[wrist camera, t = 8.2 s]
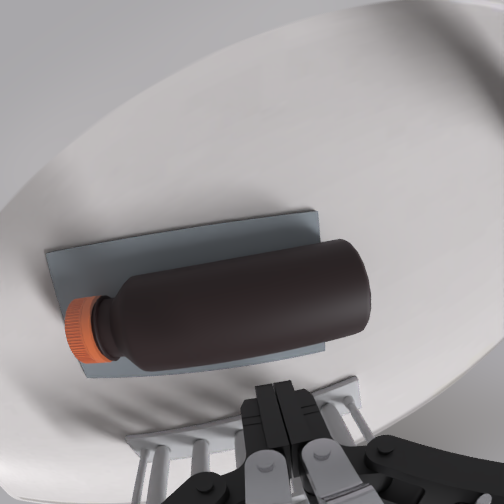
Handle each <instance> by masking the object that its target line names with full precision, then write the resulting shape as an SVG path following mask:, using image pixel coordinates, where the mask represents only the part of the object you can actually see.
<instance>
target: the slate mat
mask: <svg viewBox="0 0 504 504" xmlns="http://www.w3.org/2000/svg"><path fill="white" fill-rule="evenodd" d="M315 243H320V230H319V218H318V211H309V212H300V213H292V214H284V215H277V216H269V217H261V218H254V219H247V220H239V221H232V222H225V223H218V224H211V225H205V226H198V227H191V228H185V229H178V230H172V231H166V232H160V233H154V234H147V235H141V236H136V237H130V238H124V239H118V240H112V241H107V242H101V243H96V244H90V245H85V246H79V247H74V248H69V249H64V250H59V251H53V252H48V253H46V258H47V262H48V266H49V270H50V274H51V278H52V281H53V285H54V289H55V292H56V296H57V299H58V302H59V305H60V309H61V312H62V315H63V318H64V321H65V316H66V311H67V309H68V306H69V304H70V302H71V301H73V300H74V299H78V298H85V297H92V296H100V295H101V296H104V295H107V296H109V297H110V298H115V296H116V295H117V293H118V292H119V290H120V289H121V287H122V285H123V284H124V283H125V282H126V281H127V280H128V279H129V278H130V277H132V276H136V275H141V274H147V273H153V272H158V271H164V270H170V269H175V268H181V267H187V266H192V265H198V264H204V263H209V262H215V261H220V260H226V259H232V258H237V257H243V256H248V255H254V254H260V253H265V252H271V251H276V250H282V249H288V248H293V247H299V246H304V245H310V244H315ZM322 351H325V342H323V343H319V344H315V345H311V346H306V347H302V348H298V349H293V350H289V351H284V352H279V353H274V354H269V355H264V356H259V357H254V358H248V359H243V360H237V361H231V362H225V363H219V364H212V365H205V366H198V367H191V368H183V369H174V370H165V371H155V372H149V371H143V370H141V369H140V368H138V367H137V366H136V365H135V364H133V363H132V362H131V361H130V360H129V359H127V358H126V357H120V359H118V360H117V361H112V362H106V363H89V364H85V363H82V362H81V361H80V363H81V365H82V368H83V370H84V372H85V375H86V377H87V378H119V377H143V376H159V375H172V374H183V373H193V372H203V371H211V370H219V369H227V368H234V367H241V366H248V365H254V364H260V363H266V362H272V361H278V360H283V359H288V358H294V357H299V356H304V355H308V354H313V353H318V352H322Z"/></svg>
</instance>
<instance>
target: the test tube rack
mask: <svg viewBox="0 0 504 504" xmlns="http://www.w3.org/2000/svg"><path fill="white" fill-rule="evenodd" d="M311 394H312V395H313V397H314V399H315V401H316V403H317V406H318V408H319V410H320V412H321V414H322V417H323V419H324V421H325V423H326V426H327V428H328V430H329V432H330V435H331V437H332V438H333V439H334V440H335V441H336V442H337V443H339V444H341V445H344V446H356V444H355V442H354V440H353V438H352V436H351V434H350V432H349V430H348V428H347V426H346V424H345V422H344V421H343V419H342V417H341V416H343V415H346V414H348V413H351V415H352V417H353V418H354V420H355V422H356V424H357V425H358V427H359V429H360V431H361V433H362V434H363V436H364V438H365V440H366V441H367V443H369V442H370V441H371V440H372V439H374V438H375V437H374V435H373V433H372V432H371V430H370V428H369V427H368V425H367V423H366V422H365V420H364V418H363V417H362V415H361V413H360V412H359V410H358V409H360V408H362V405H361V396H360V388H359V381H358V378H357V377H356V376H354V377H351V378H349V379H347V380H344V381H342V382H339V383H337V384H334V385H332V386H329V387H326V388H324V389H321V390H318V391H316V392H313V393H311ZM125 441H126V442H127V443H128V444H129V445H130V447H131V448H132V449H133V450H134V451H135V452H136V454H137V455H138V456H139V457H140V462H139V467H138V472H137V477H136V482H135V487H134V492H133V497H132V503H131V504H140V501H141V495H142V489H143V483H144V477H145V472H146V466H147V463H150V462H153V463H152V469H151V475H150V481H149V487H148V494H147V501H146V504H161V503H162V502H163V501H165V500H166V492H167V482H168V473H169V464H170V460H177V459H184V458H191V457H192V466H191V476H193V475H194V474H197V473H200V472H210V455H209V454H214V453H219V452H224V451H229V450H234V449H235V456H236V467H237V469H238V468H239V467H240V466H241V465H242V464H243V463H244V461H245V459H246V449H245V441H244V433H243V425H242V417H241V415H238V416H234V417H230V418H226V419H222V420H218V421H213V422H209V423H204V424H199V425H194V426H189V427H184V428H178V429H172V430H166V431H160V432H153V433H145V434H137V435H128V436H126V438H125ZM291 471H292V470H291ZM291 483H292V486H293V490H294V493H292V494H291V496H292V503H293V504H307V501H306V499H305V496H304V494H303V487H302V482H301V478H300V477H296V478H294V477H293V473H292V479H291Z"/></svg>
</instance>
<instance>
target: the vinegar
mask: <svg viewBox="0 0 504 504" xmlns="http://www.w3.org/2000/svg"><path fill="white" fill-rule="evenodd" d="M370 311H371V292H370V286H369V280H368V276H367V273H366V270H365V266H364V264H363V262H362V259H361V257H360V256H359V254H358V252H357V251H356V249H355V248H354V247H353V246H352V245H351V244H350V243H349V242H347V241H345V240H343V239H338V240H332V241H326V242H321V243H315V244H310V245H304V246H299V247H293V248H288V249H282V250H276V251H271V252H265V253H260V254H254V255H248V256H243V257H237V258H232V259H226V260H220V261H215V262H209V263H204V264H198V265H192V266H187V267H181V268H175V269H170V270H164V271H158V272H153V273H147V274H141V275H136V276H132V277H130V278H129V279H128V280H127V281H126V282H125V283H124V284H123V285H122V287H121V289H120V290H119V292H118V293H117V295H116V296H115V298H110V297H109V296H107V295H104V296H101V295H100V296H92V297H85V298H78V299H74V300H73V301H71V302H70V304H69V306H68V309H67V311H66V316H65V333H66V337H67V342H68V344H69V346H70V349H71V351H72V353H73V354H74V355H75V357H76V358H77V359H78V360H79V361H81V362H82V363H85V364H89V363H106V362H112V361H117V360H118V359H120V357H126V358H127V359H129V360H130V361H131V362H132V363H133V364H135V365H136V366H137V367H138V368H140V369H141V370H143V371H149V372H155V371H165V370H174V369H183V368H191V367H198V366H205V365H212V364H219V363H225V362H231V361H237V360H243V359H248V358H254V357H259V356H264V355H269V354H274V353H279V352H284V351H289V350H293V349H298V348H302V347H306V346H311V345H315V344H319V343H323V342H327V341H331V340H335V339H339V338H342V337H346V336H350V335H353V334H356V333H359V332H361V331H363V330H364V328H365V326H366V325H367V323H368V321H369V317H370Z"/></svg>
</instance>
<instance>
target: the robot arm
mask: <svg viewBox="0 0 504 504" xmlns="http://www.w3.org/2000/svg"><path fill="white" fill-rule="evenodd" d="M255 390H256V396H257V398H254V399H247V400H244V402H243V404H242V407H241V417H242V425H243V433H244V441H245V449H246V459H245V461H244V463H243V464H242V465H241V466H240V467H239V468H238V469H236V470H234V471H232V472H230V473H227V474H224V475H222V476H220V475H219V474H217V473H214V472H200V473H197V474H194V475H193V476H191V477H190V478H189V479H188V480H187V481H185V482H184V483H183V484H182V485H181V486H180V487H179V488H178V489H177V490H176V491H175V492H174V493H172V494H171V495H170V496H169V497H168V498H167V499H166V500H165V501H163V502H162V503H161V504H293V503H292V496H291V489H290V479H292V473H293V477H294V478H296V477H300V478H301V482H302V487H303V494H304V496H305V499H306V501H307V504H504V463H500V462H494V461H489V460H483V459H478V458H473V457H469V456H464V455H459V454H455V453H451V452H447V451H443V450H439V449H436V448H432V447H428V446H425V445H421V444H418V443H414V442H411V441H408V440H404V439H401V438H398V437H395V436H391V435H381V436H378V437H375V438H374V439H372V440H371V441H370V442H369V443H368V444H367V446H344V445H341V444H339V443H337V442H336V441H335V440H334V439H333V438H332V437H331V435H330V432H329V430H328V428H327V426H326V423H325V421H324V419H323V417H322V414H321V412H320V410H319V408H318V406H317V403H316V401H315V399H314V397H313V395H312V394H311V393H309V392H308V391H307V390H306V389H302V390H297V391H294V388H293V385H292V383H291V380H288V381H283V382H278V383H273V385H272V384H267V385H261V386H255ZM291 470H292V471H291Z"/></svg>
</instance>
